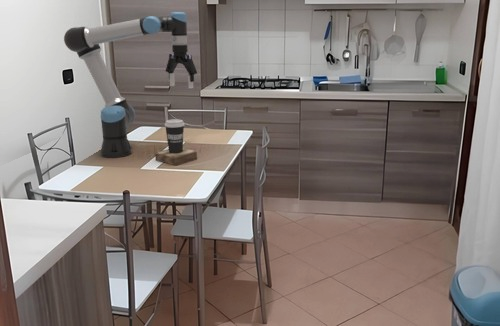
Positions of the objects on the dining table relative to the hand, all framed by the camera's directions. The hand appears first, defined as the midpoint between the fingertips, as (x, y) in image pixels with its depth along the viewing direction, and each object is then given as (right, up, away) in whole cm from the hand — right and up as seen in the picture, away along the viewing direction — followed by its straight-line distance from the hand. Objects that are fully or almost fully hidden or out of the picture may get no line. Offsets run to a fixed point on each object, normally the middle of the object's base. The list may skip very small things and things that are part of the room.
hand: (181, 87), depth 250 cm
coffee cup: (-1, -33, -15) cm, 37 cm away
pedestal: (-1, -37, -13) cm, 40 cm away
